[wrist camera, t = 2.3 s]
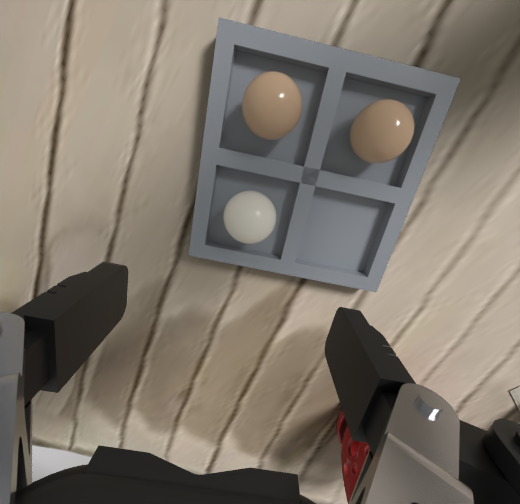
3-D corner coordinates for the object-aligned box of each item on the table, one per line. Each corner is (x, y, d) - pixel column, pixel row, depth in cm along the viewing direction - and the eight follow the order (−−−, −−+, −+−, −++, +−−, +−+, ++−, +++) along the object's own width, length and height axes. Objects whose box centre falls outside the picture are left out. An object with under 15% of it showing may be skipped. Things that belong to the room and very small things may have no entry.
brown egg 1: (304, 87, 24) (314, 71, 19) (290, 146, 26) (297, 144, 21) (249, 74, 24) (246, 54, 19) (239, 134, 26) (234, 130, 21)
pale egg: (280, 193, 27) (283, 201, 23) (269, 239, 29) (270, 256, 24) (231, 182, 27) (224, 188, 22) (223, 230, 29) (215, 245, 24)
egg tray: (442, 85, 25) (460, 78, 23) (368, 282, 32) (376, 292, 29) (222, 30, 24) (218, 17, 21) (193, 248, 30) (188, 255, 28)
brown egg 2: (405, 111, 25) (438, 101, 20) (385, 167, 26) (412, 170, 22) (352, 99, 24) (374, 85, 20) (336, 156, 26) (352, 156, 21)
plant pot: (439, 400, 38) (516, 505, 26) (383, 457, 42) (428, 570, 30) (361, 365, 36) (408, 461, 24) (310, 428, 40) (329, 537, 28)
